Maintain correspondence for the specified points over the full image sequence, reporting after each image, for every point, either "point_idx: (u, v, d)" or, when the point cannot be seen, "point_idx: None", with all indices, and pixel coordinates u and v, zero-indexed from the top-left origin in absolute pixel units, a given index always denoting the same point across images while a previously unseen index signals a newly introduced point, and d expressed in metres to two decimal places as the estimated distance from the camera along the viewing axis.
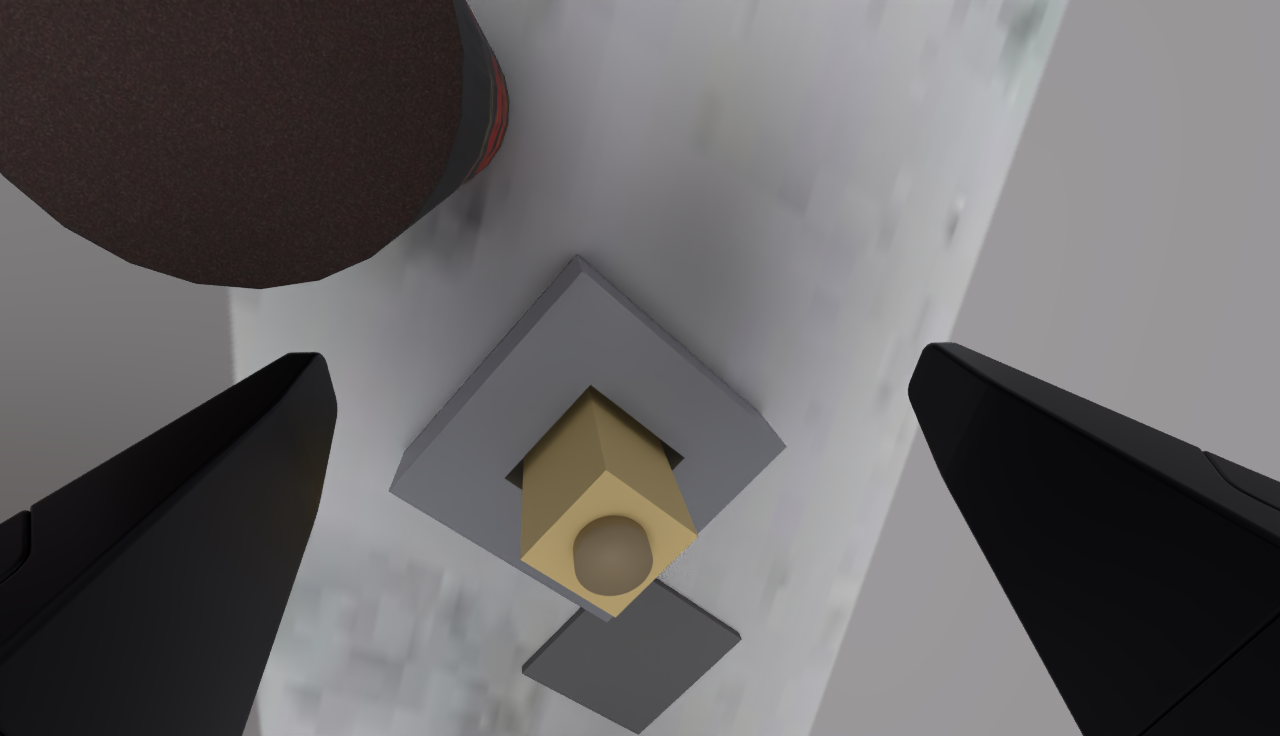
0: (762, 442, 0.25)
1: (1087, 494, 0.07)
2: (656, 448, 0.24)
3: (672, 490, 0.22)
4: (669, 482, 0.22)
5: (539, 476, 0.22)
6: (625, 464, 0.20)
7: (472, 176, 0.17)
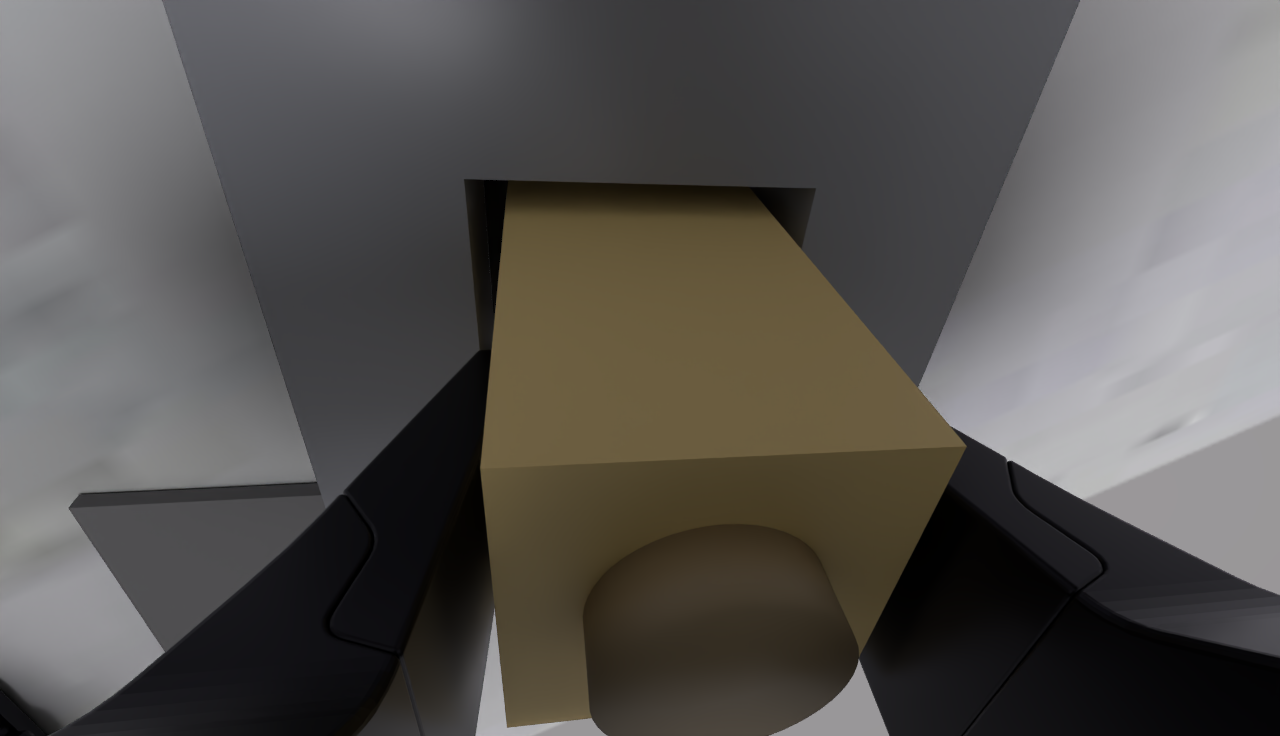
0: None
1: None
2: None
3: None
4: None
5: (576, 255, 0.08)
6: None
7: None
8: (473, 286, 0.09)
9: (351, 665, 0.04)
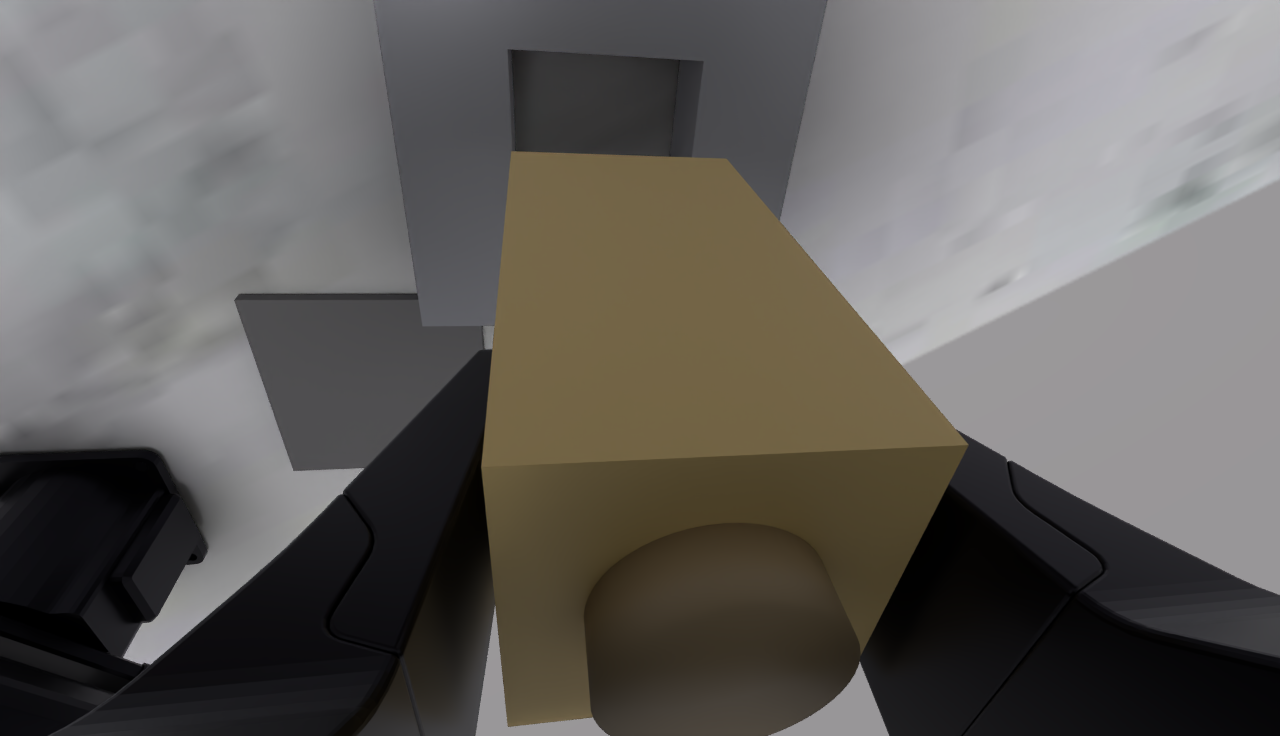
0: None
1: None
2: None
3: None
4: None
5: (577, 255, 0.08)
6: None
7: None
8: (510, 117, 0.16)
9: (351, 665, 0.04)
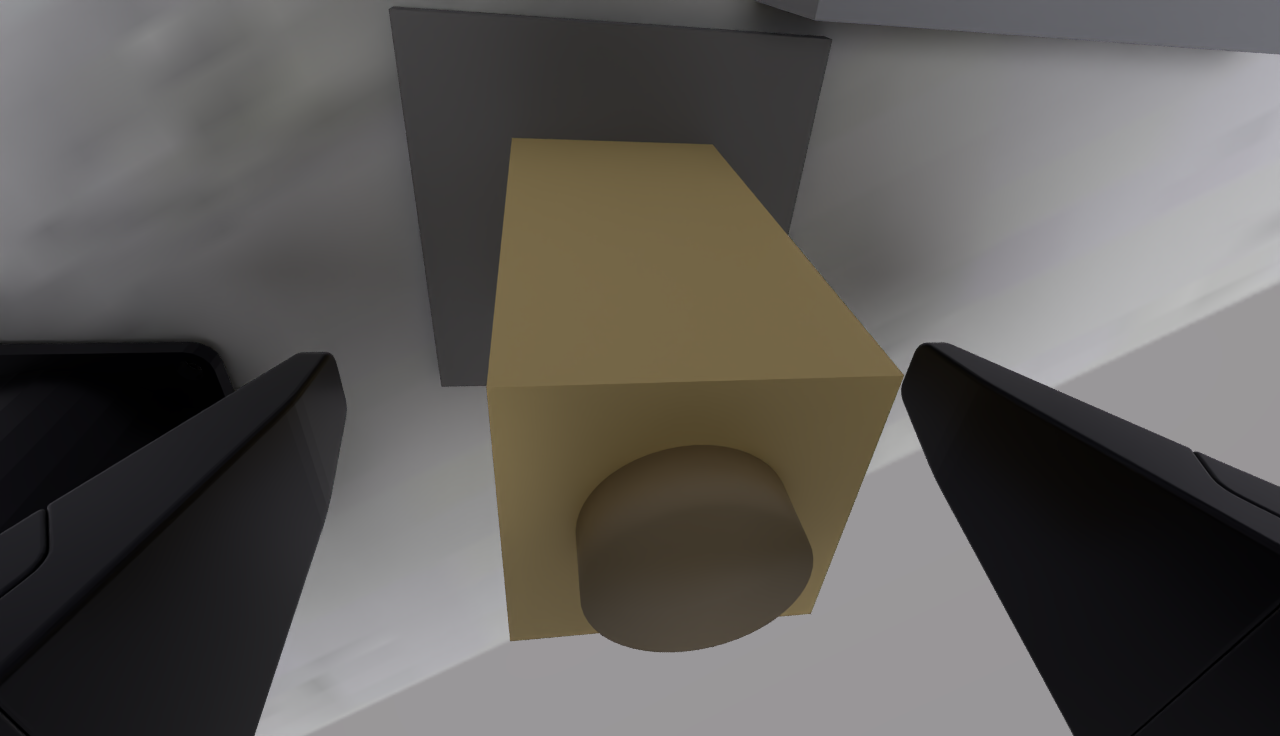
0: None
1: (1078, 494, 0.07)
2: None
3: None
4: None
5: (571, 224, 0.09)
6: None
7: None
8: None
9: None
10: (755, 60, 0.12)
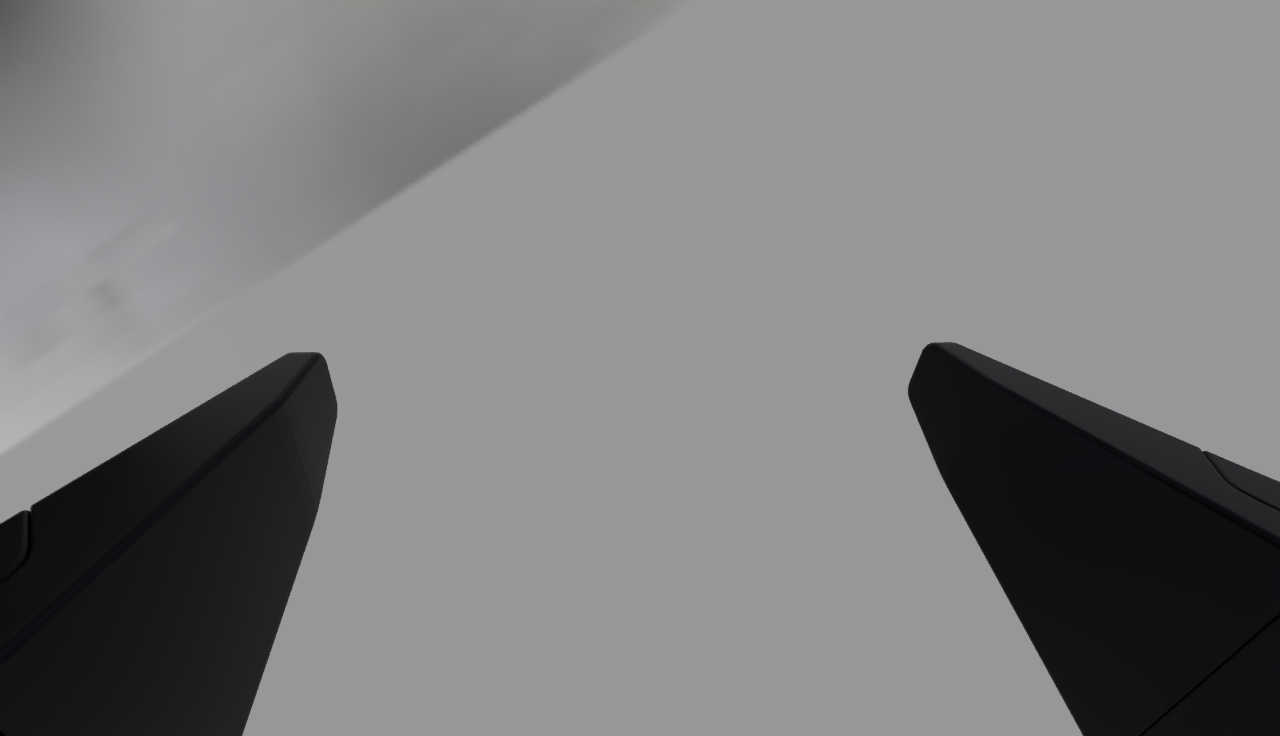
0: None
1: (1087, 494, 0.07)
2: None
3: None
4: None
5: None
6: None
7: None
8: None
9: None
10: None
